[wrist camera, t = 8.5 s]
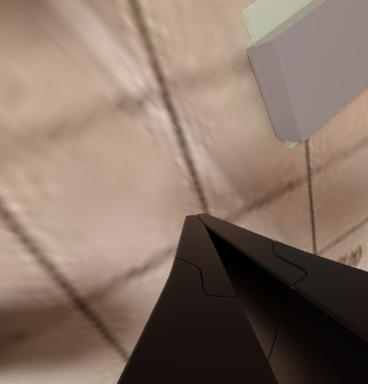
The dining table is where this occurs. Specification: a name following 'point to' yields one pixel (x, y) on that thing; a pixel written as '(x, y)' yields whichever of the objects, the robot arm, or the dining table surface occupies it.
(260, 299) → the robot arm
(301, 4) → the pad
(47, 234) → the dining table surface
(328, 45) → the slate tile
